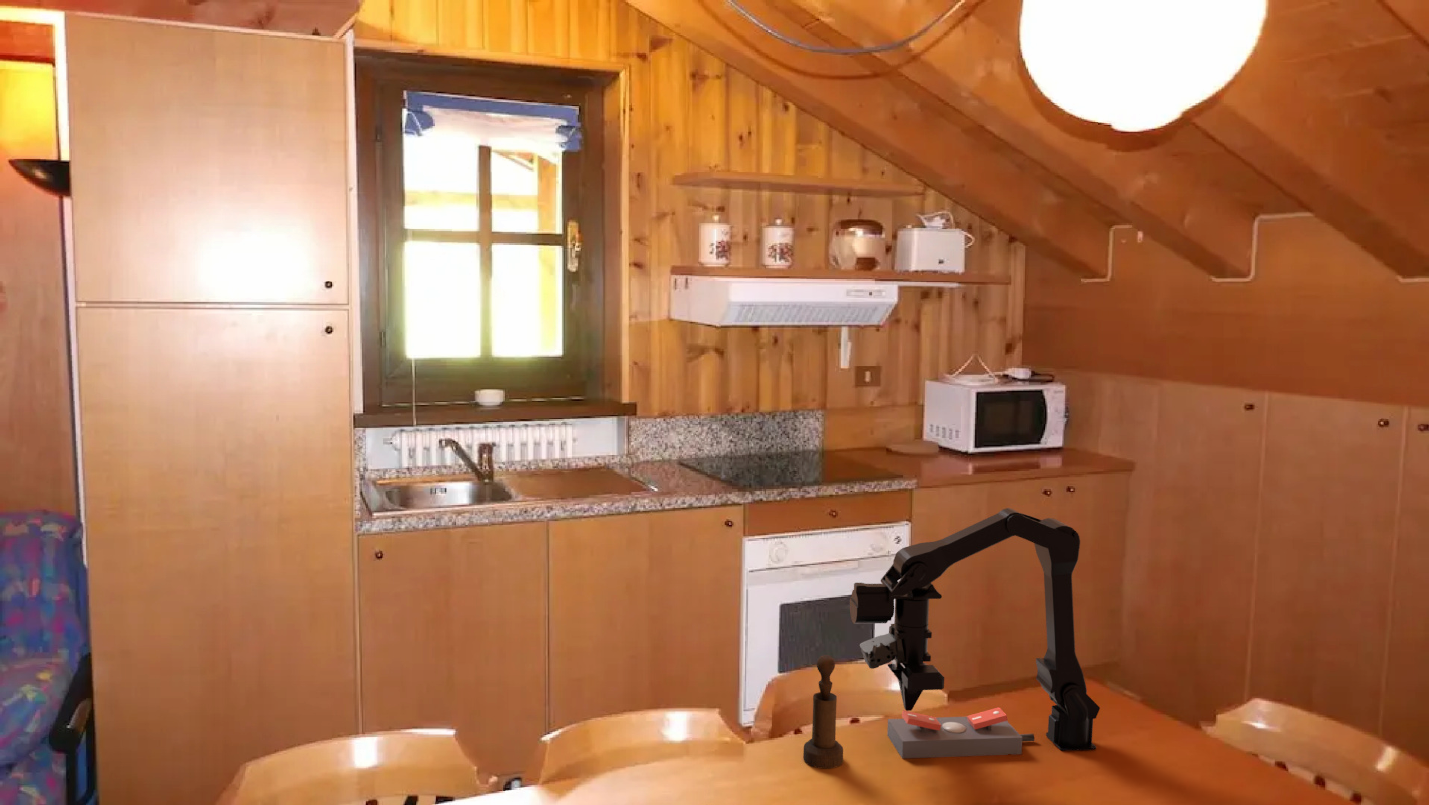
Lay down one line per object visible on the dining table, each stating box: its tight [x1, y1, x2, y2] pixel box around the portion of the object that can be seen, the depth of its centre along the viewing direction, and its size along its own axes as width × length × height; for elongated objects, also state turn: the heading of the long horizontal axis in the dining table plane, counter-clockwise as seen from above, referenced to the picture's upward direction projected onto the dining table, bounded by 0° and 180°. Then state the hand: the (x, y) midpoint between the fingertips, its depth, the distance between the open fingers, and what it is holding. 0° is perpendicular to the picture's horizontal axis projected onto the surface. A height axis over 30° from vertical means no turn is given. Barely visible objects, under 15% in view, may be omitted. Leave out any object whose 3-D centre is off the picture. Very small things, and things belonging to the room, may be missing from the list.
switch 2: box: [966, 706, 1008, 729], centre depth 178 cm, size 6×3×1 cm, turn 96°
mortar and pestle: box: [802, 654, 844, 769], centre depth 170 cm, size 7×6×18 cm
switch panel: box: [886, 716, 1035, 759], centre depth 177 cm, size 25×9×4 cm, turn 96°
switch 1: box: [901, 709, 941, 731], centre depth 176 cm, size 6×3×1 cm, turn 97°
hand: (908, 710), depth 176 cm, fingers closed
